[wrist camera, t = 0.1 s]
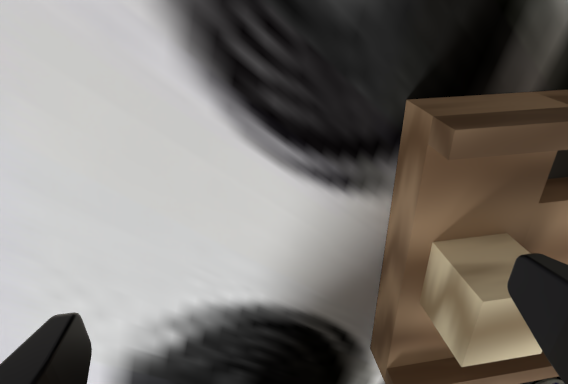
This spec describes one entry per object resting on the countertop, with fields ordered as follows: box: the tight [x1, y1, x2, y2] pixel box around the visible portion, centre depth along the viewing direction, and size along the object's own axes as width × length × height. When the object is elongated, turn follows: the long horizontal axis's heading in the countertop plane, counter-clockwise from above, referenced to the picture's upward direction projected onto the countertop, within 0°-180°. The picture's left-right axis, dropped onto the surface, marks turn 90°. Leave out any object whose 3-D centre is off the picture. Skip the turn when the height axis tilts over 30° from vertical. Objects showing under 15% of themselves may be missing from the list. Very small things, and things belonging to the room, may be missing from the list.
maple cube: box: [420, 233, 542, 367], centre depth 23 cm, size 5×5×5 cm
